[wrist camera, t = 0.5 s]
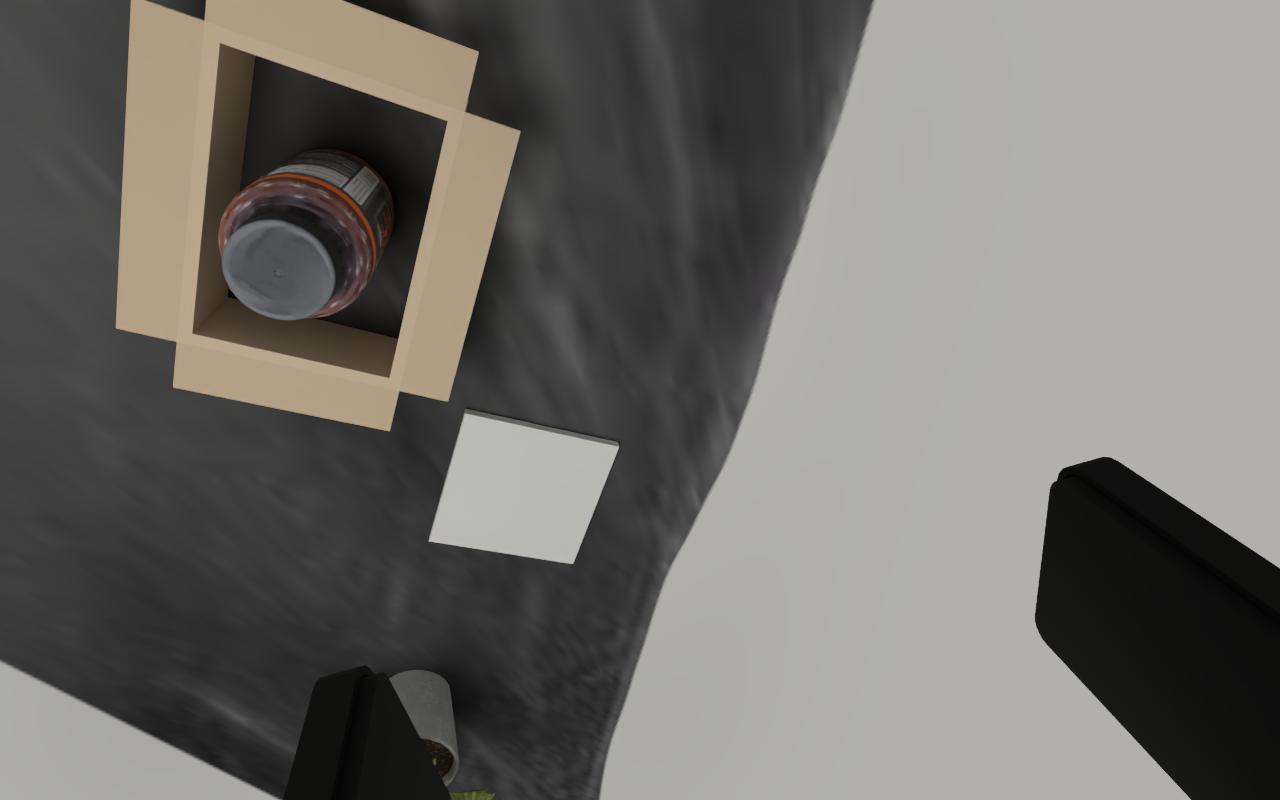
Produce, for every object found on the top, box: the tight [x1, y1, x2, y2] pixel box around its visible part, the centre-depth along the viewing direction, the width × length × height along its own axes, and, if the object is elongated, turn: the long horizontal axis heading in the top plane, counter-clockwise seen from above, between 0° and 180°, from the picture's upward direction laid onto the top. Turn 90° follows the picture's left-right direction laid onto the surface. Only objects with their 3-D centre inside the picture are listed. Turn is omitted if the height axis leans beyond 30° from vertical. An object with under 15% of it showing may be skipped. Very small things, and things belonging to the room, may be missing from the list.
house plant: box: [389, 670, 496, 800], centre depth 46 cm, size 14×14×16 cm
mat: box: [429, 409, 619, 564], centre depth 46 cm, size 10×10×1 cm
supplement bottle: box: [218, 149, 395, 320], centre depth 31 cm, size 6×6×11 cm
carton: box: [116, 0, 521, 431], centre depth 34 cm, size 19×15×5 cm
